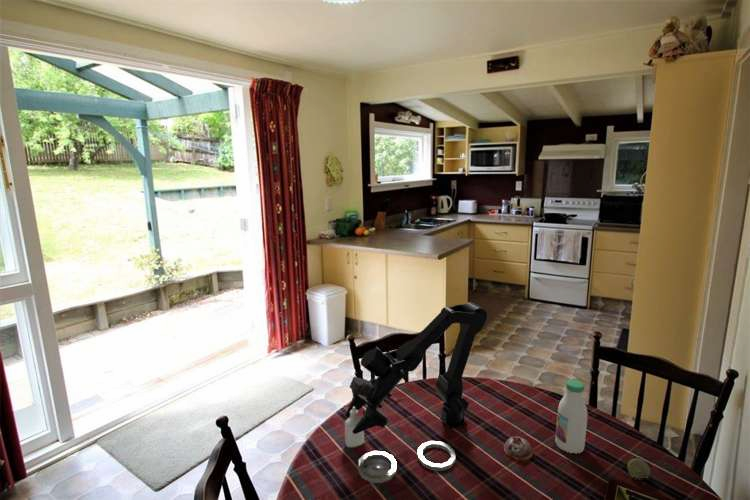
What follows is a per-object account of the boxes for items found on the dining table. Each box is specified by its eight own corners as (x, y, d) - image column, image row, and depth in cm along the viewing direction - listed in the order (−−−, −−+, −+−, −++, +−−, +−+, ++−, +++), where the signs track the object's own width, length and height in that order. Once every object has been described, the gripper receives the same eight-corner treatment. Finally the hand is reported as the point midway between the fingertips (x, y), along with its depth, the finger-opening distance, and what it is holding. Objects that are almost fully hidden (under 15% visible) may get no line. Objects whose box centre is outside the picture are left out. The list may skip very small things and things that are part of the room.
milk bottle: (583, 441, 119) (589, 379, 115) (584, 457, 112) (591, 393, 108) (555, 434, 122) (560, 374, 118) (554, 450, 115) (560, 386, 111)
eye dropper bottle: (362, 449, 117) (362, 412, 114) (344, 447, 117) (342, 410, 115) (365, 439, 121) (364, 403, 118) (347, 437, 122) (346, 402, 119)
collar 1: (386, 450, 116) (386, 447, 116) (403, 475, 106) (403, 471, 106) (352, 461, 112) (352, 457, 112) (367, 487, 102) (366, 483, 102)
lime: (651, 480, 104) (654, 464, 103) (637, 485, 102) (639, 468, 101) (636, 468, 108) (638, 452, 107) (622, 472, 107) (624, 456, 106)
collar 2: (441, 440, 120) (442, 437, 120) (462, 463, 110) (462, 459, 110) (411, 450, 116) (411, 447, 115) (430, 475, 106) (430, 471, 106)
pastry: (502, 456, 113) (503, 441, 112) (504, 440, 120) (505, 425, 119) (532, 464, 110) (533, 448, 109) (533, 447, 117) (534, 431, 116)
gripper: (357, 355, 124) (323, 394, 123) (376, 385, 107) (337, 430, 106) (381, 374, 128) (349, 411, 127) (403, 405, 111) (366, 450, 110)
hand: (349, 424), depth 117 cm, fingers open, 8 cm apart
